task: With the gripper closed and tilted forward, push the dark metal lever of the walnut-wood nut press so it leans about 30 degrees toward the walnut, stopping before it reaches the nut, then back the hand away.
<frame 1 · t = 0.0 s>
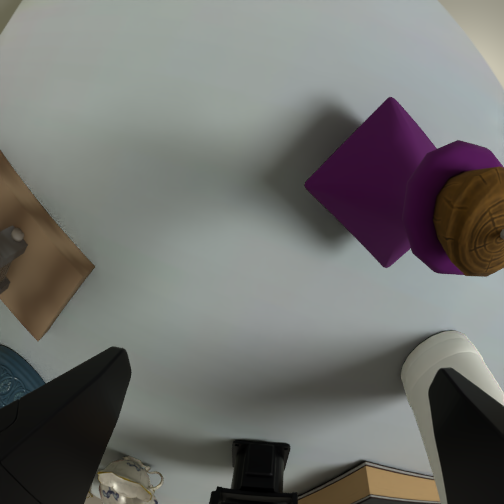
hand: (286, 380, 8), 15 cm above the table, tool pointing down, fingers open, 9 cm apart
book: (374, 492, 37), on the table
perfume bottle: (375, 176, 20), on the table
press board: (21, 251, 25), on the table
chinaware: (119, 474, 40), on the table
bottle: (435, 360, 25), on the table
canister: (21, 378, 33), on the table
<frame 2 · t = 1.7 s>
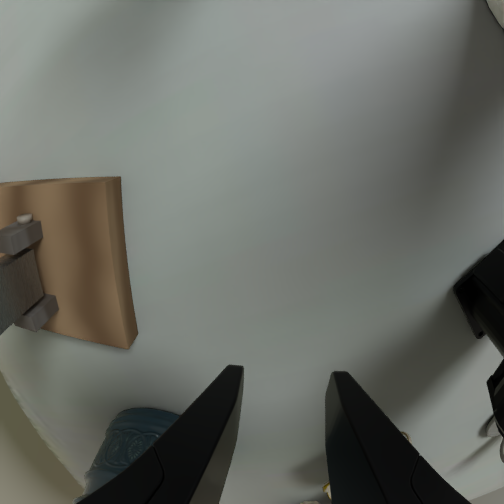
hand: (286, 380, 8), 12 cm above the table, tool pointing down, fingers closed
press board: (52, 255, 21), on the table
canister: (169, 440, 29), on the table
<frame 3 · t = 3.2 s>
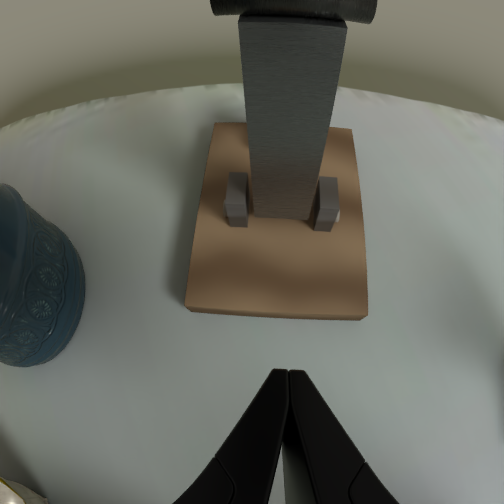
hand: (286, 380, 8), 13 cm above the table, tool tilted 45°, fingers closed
lever: (287, 124, 14), point 11 cm above the table, hinge at 0.0°
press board: (280, 226, 24), on the table
canister: (34, 297, 23), on the table
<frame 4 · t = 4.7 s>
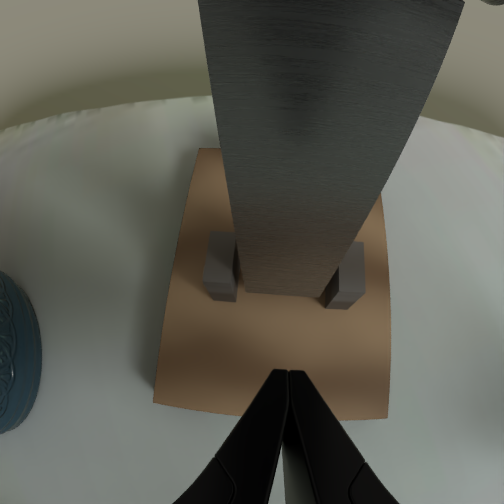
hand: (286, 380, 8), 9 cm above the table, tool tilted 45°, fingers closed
lever: (301, 180, 8), point 11 cm above the table, hinge at 0.0°
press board: (280, 294, 18), on the table
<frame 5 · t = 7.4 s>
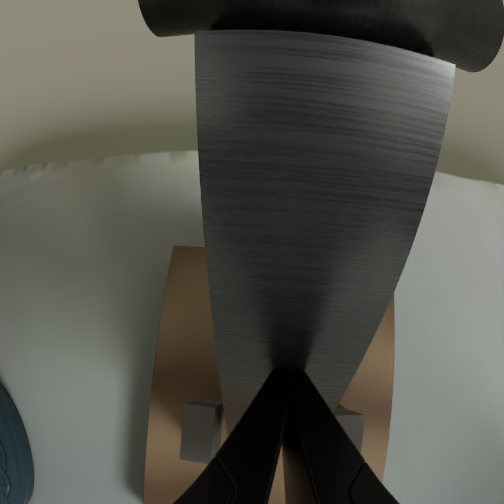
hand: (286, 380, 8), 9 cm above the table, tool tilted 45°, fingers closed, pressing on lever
lever: (294, 312, 8), point 10 cm above the table, hinge at 30.0°, touching gripper
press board: (269, 423, 15), on the table
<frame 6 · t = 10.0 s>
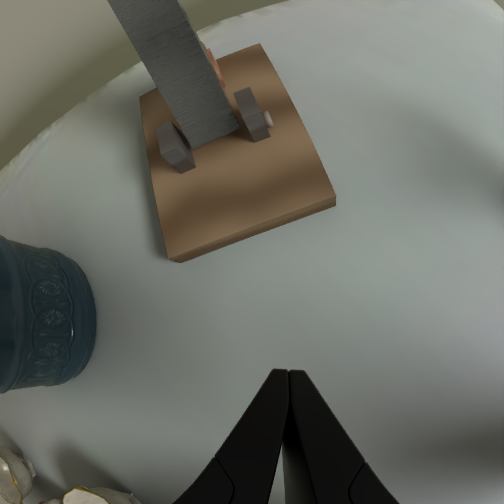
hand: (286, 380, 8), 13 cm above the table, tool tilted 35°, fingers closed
lever: (165, 37, 16), point 10 cm above the table, hinge at 30.0°
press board: (229, 154, 24), on the table
canister: (55, 318, 26), on the table
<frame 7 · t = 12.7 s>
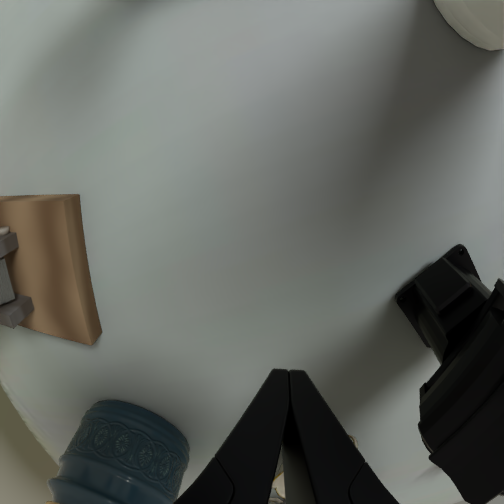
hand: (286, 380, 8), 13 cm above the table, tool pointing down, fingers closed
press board: (29, 261, 23), on the table
chinaware: (315, 478, 32), on the table
bottle: (471, 4, 12), on the table
canister: (138, 432, 31), on the table
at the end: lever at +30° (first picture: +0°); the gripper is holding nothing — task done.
